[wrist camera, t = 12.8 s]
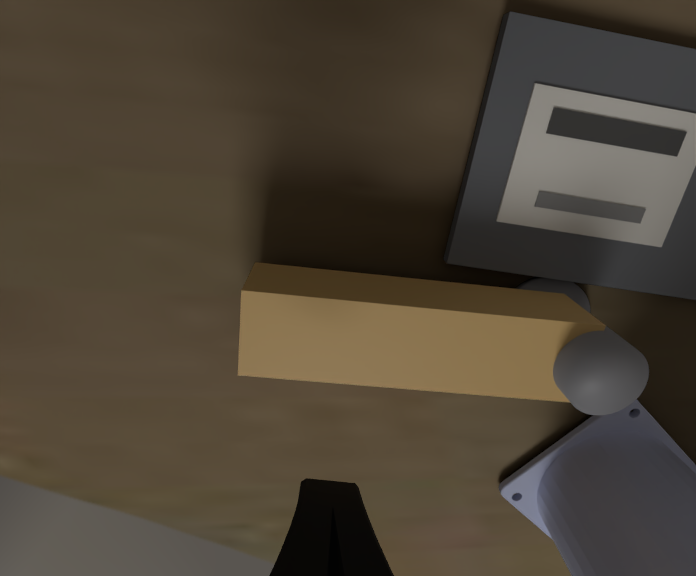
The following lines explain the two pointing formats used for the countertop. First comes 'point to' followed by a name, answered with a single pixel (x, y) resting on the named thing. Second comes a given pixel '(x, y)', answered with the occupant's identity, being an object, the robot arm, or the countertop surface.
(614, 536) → the robot arm
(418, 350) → the bar
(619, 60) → the label plate
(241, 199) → the countertop surface
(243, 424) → the countertop surface
